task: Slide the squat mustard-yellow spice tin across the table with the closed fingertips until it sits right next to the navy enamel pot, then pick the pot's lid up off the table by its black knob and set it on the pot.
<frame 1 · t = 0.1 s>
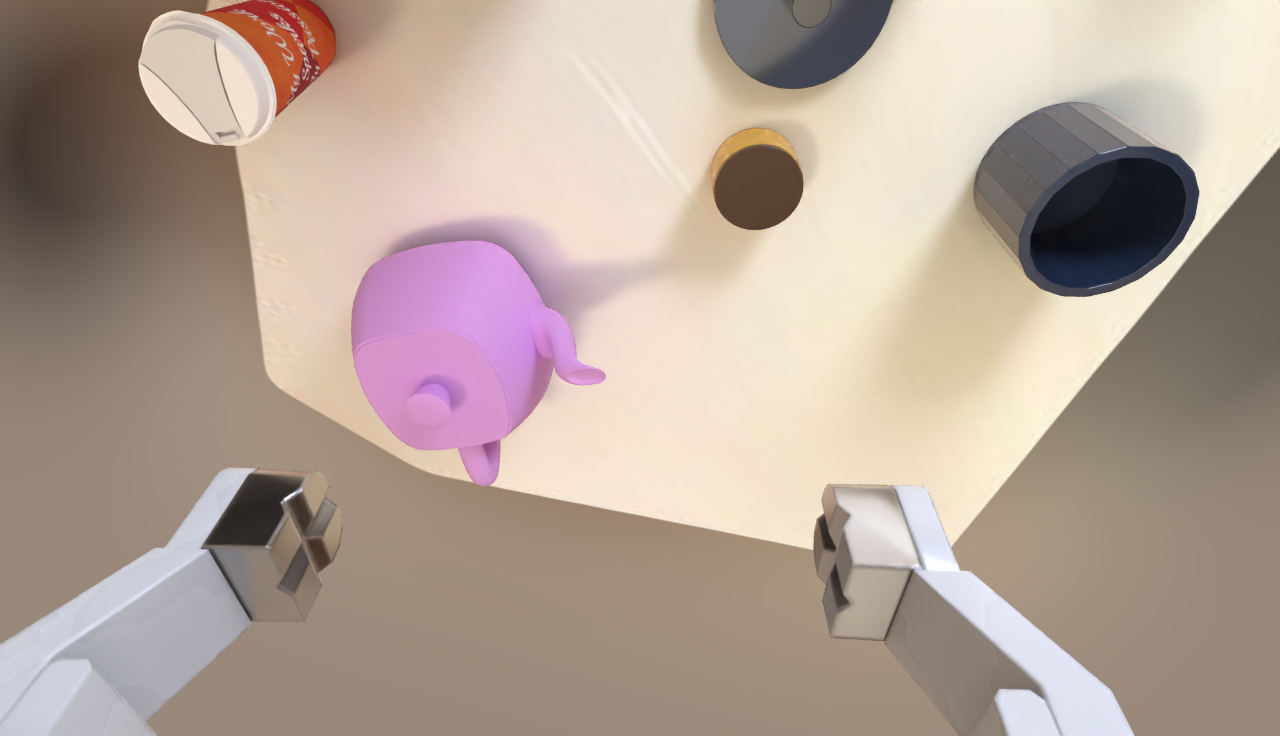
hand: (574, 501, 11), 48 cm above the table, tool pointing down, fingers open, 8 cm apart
pot: (1048, 174, 57), on the table
teapot: (476, 306, 67), on the table
paper cup: (299, 32, 52), on the table
tin: (753, 170, 57), on the table
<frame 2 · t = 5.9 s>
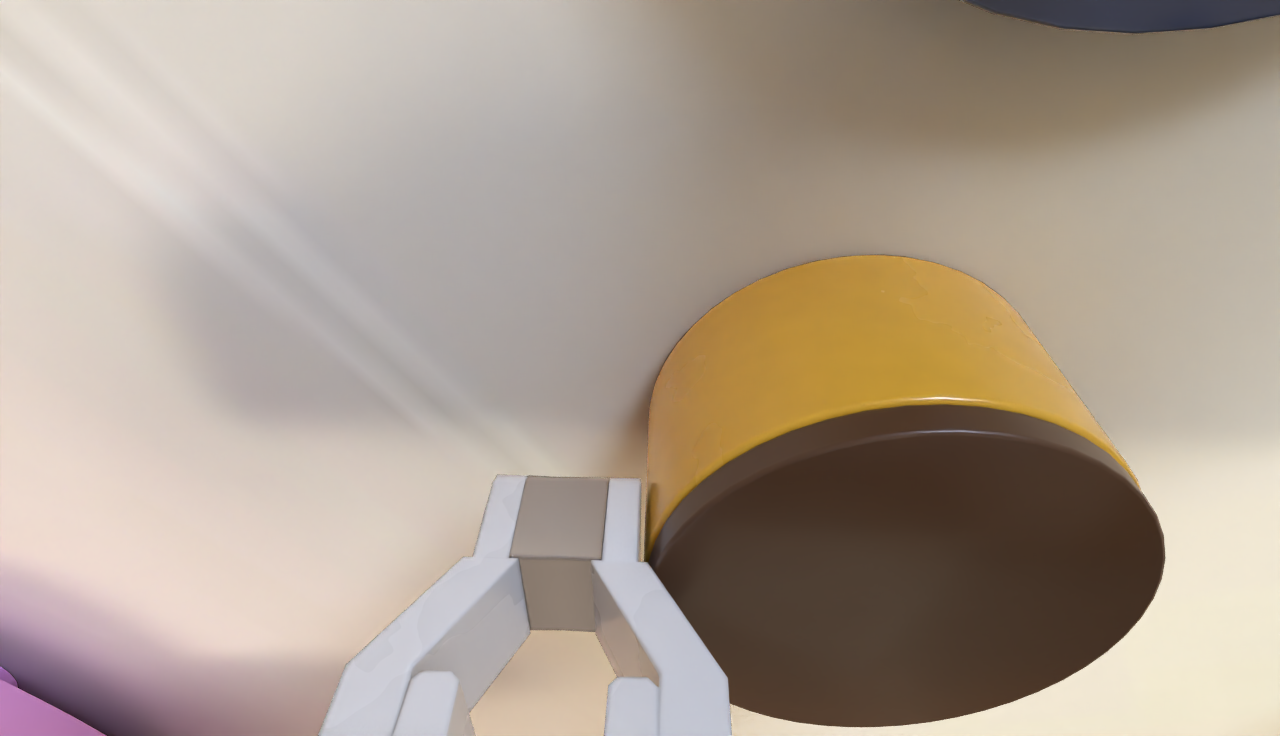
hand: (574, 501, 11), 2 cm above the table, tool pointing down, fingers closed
tin: (837, 420, 13), on the table, touching gripper
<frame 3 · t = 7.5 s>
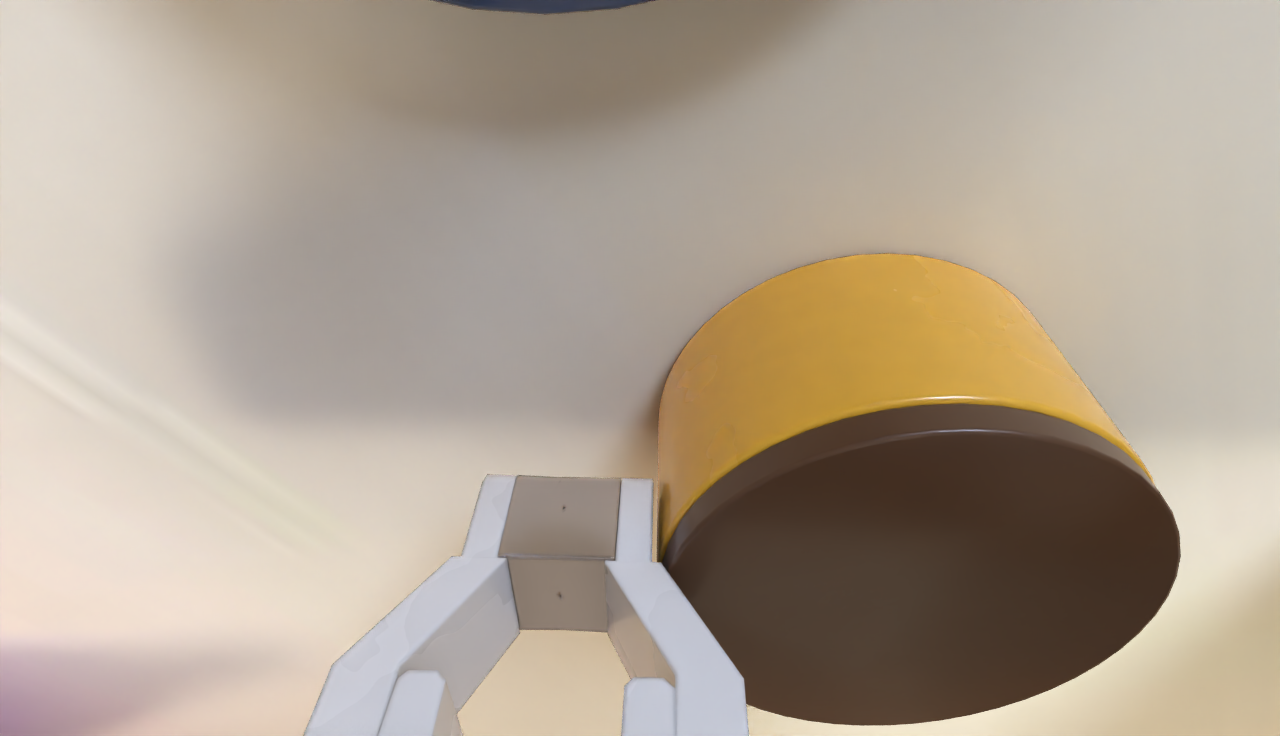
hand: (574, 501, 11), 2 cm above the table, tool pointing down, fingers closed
tin: (847, 419, 13), on the table, touching gripper
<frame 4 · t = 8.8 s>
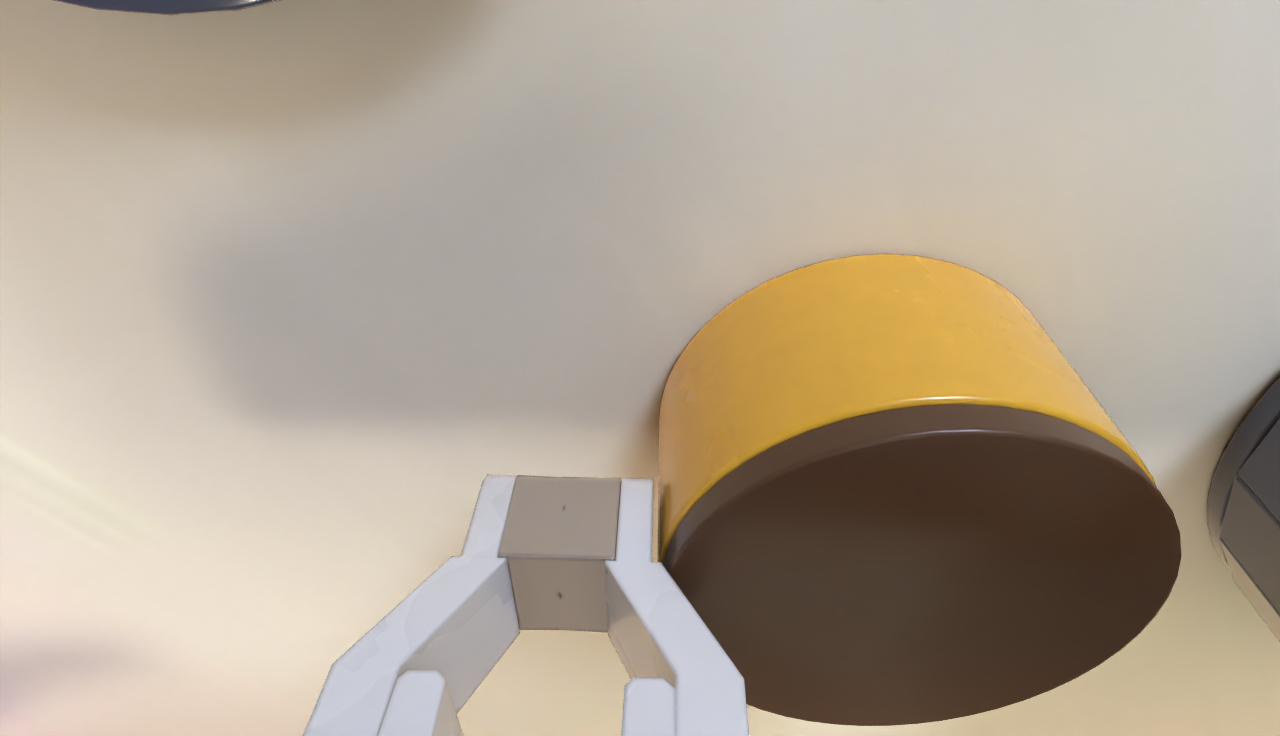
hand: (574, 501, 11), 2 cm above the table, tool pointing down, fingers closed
tin: (847, 419, 13), on the table, touching gripper
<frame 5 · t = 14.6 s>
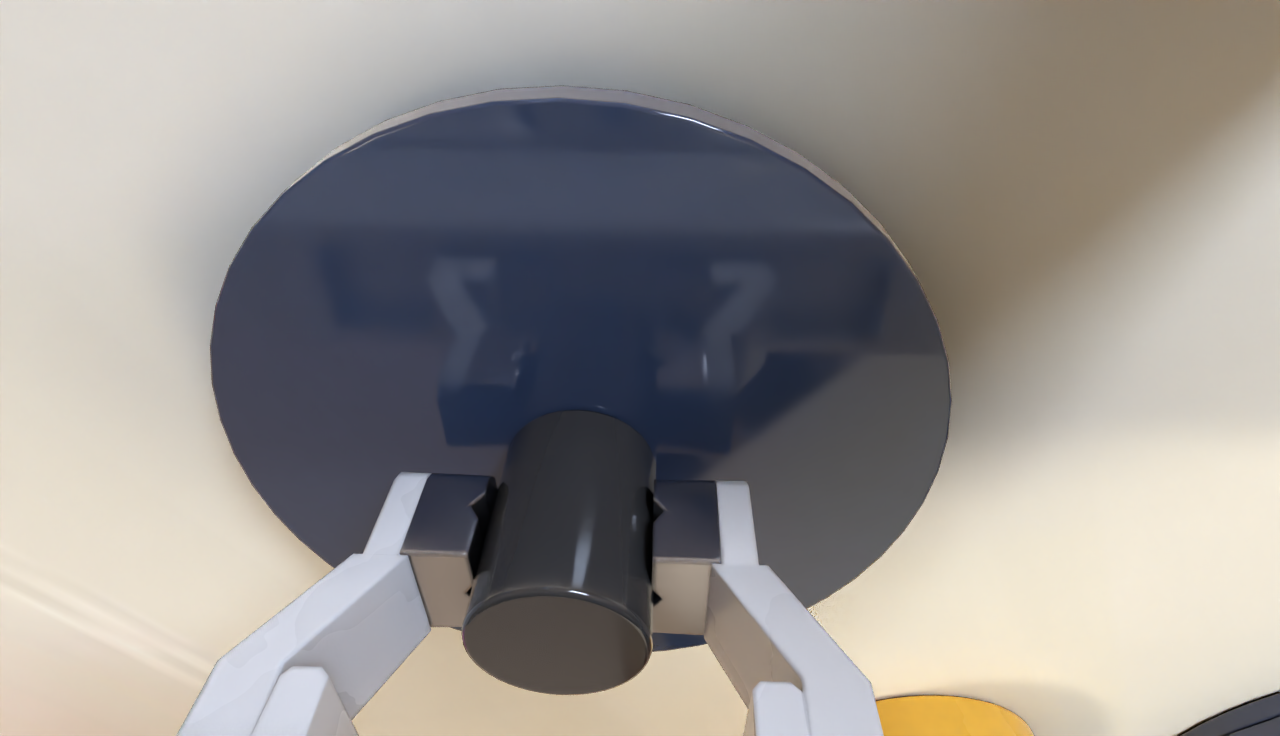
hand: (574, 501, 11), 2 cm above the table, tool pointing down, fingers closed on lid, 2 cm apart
lid: (585, 439, 13), point 1 cm above the table, touching gripper
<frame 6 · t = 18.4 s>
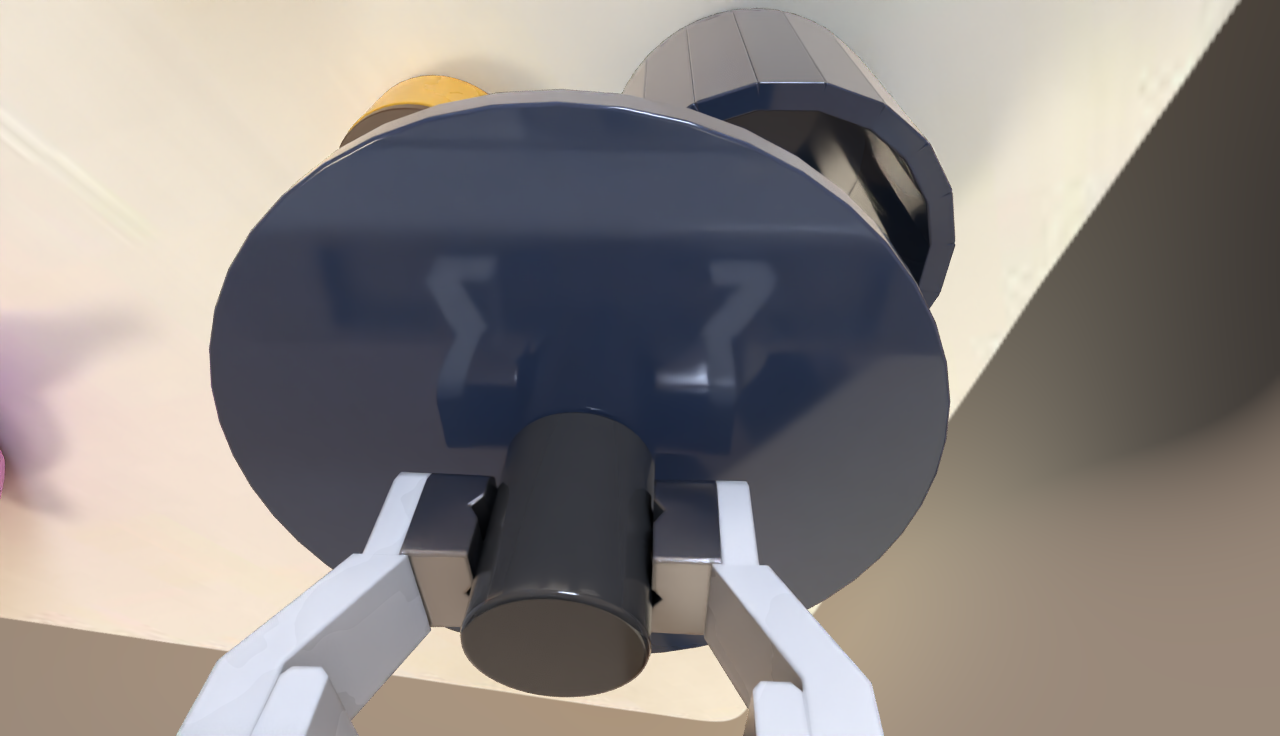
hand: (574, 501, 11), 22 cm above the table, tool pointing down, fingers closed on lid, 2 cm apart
pot: (742, 156, 30), on the table
lid: (583, 441, 13), point 20 cm above the table, touching gripper
tin: (448, 158, 30), on the table
when the fingers open (11 cm above the table, at t = 22.1 s): lid stays where it is, resting on pot.
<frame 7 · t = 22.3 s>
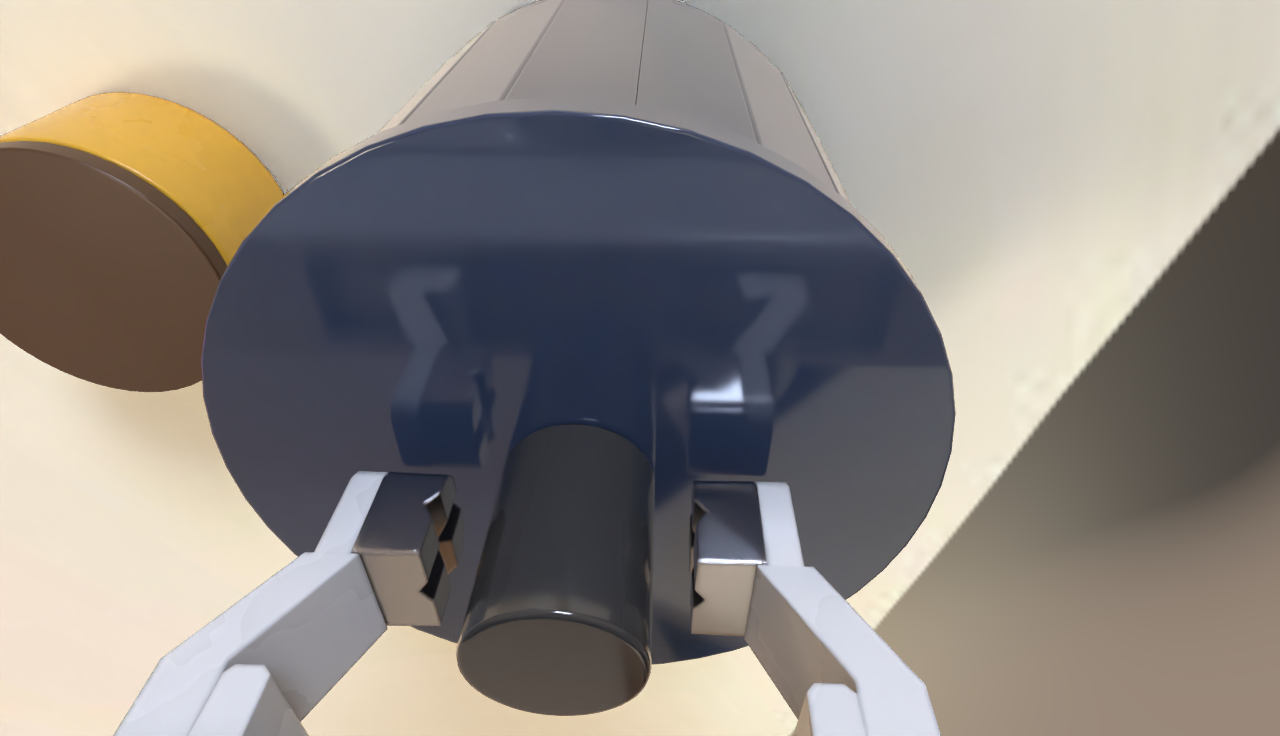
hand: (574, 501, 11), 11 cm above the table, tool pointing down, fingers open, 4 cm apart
pot: (614, 216, 20), on the table
lid: (582, 452, 12), point 9 cm above the table, touching pot
tin: (177, 215, 20), on the table
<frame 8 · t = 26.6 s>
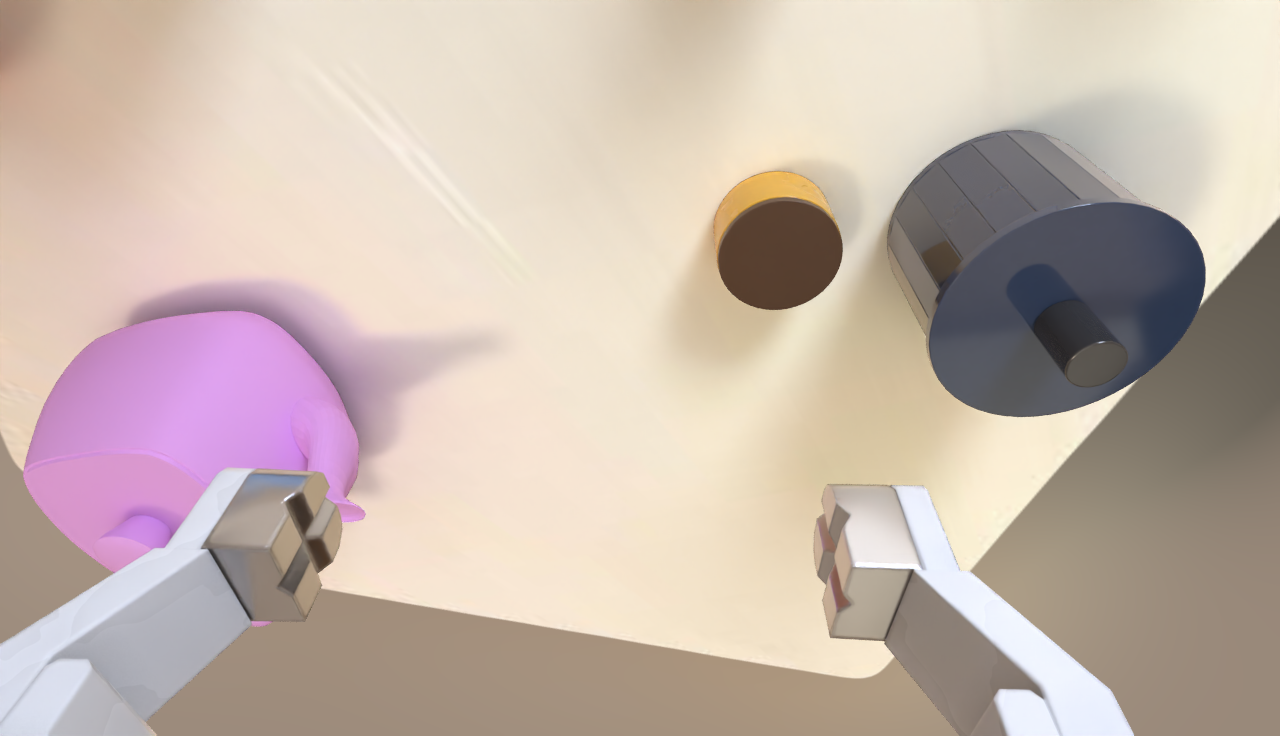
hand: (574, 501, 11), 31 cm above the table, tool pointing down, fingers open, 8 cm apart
pot: (986, 226, 42), on the table
lid: (1056, 315, 34), point 9 cm above the table, touching pot
teapot: (259, 387, 51), on the table
tin: (771, 226, 42), on the table
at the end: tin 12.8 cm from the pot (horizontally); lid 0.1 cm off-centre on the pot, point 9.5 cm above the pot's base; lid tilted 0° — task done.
